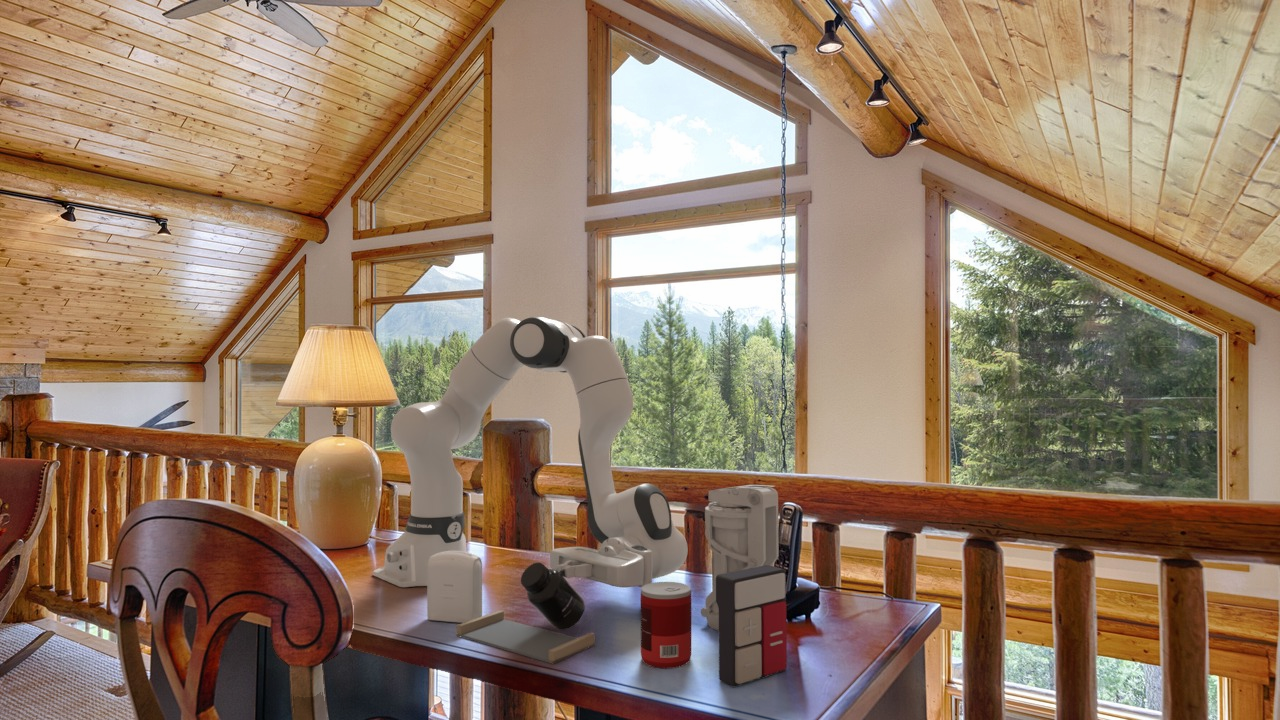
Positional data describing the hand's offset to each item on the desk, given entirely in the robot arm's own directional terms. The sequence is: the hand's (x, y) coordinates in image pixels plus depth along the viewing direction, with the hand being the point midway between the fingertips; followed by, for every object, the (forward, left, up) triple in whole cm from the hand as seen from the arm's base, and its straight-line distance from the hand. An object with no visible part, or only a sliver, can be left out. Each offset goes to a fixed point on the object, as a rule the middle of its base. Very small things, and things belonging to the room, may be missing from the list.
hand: (561, 571), depth 127 cm
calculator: (+36, +1, -10) cm, 38 cm away
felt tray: (-2, -7, -10) cm, 13 cm away
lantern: (+24, +20, -10) cm, 33 cm away
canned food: (+22, -1, -10) cm, 25 cm away
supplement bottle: (0, +2, -8) cm, 8 cm away
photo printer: (-20, -7, -10) cm, 23 cm away
